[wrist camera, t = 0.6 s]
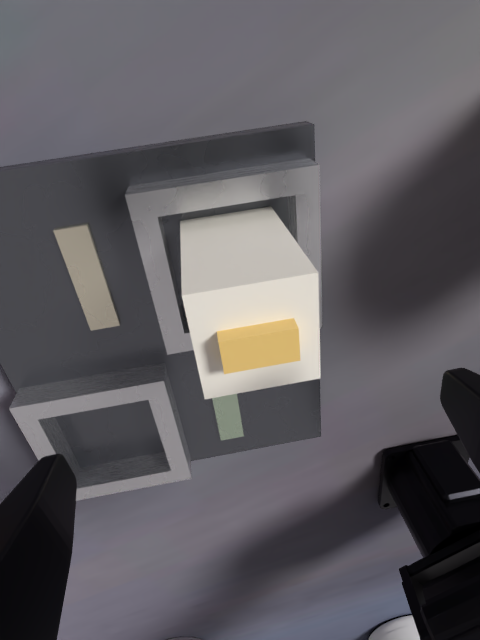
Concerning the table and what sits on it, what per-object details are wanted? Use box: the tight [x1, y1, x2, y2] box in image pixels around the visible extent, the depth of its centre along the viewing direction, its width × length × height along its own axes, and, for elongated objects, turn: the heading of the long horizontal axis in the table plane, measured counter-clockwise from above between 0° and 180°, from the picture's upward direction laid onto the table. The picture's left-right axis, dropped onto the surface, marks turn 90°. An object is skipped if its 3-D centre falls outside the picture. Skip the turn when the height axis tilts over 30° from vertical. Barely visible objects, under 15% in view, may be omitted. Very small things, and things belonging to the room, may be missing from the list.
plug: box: [180, 206, 321, 399], centre depth 16 cm, size 4×4×8 cm
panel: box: [0, 121, 322, 501], centre depth 21 cm, size 18×16×3 cm
